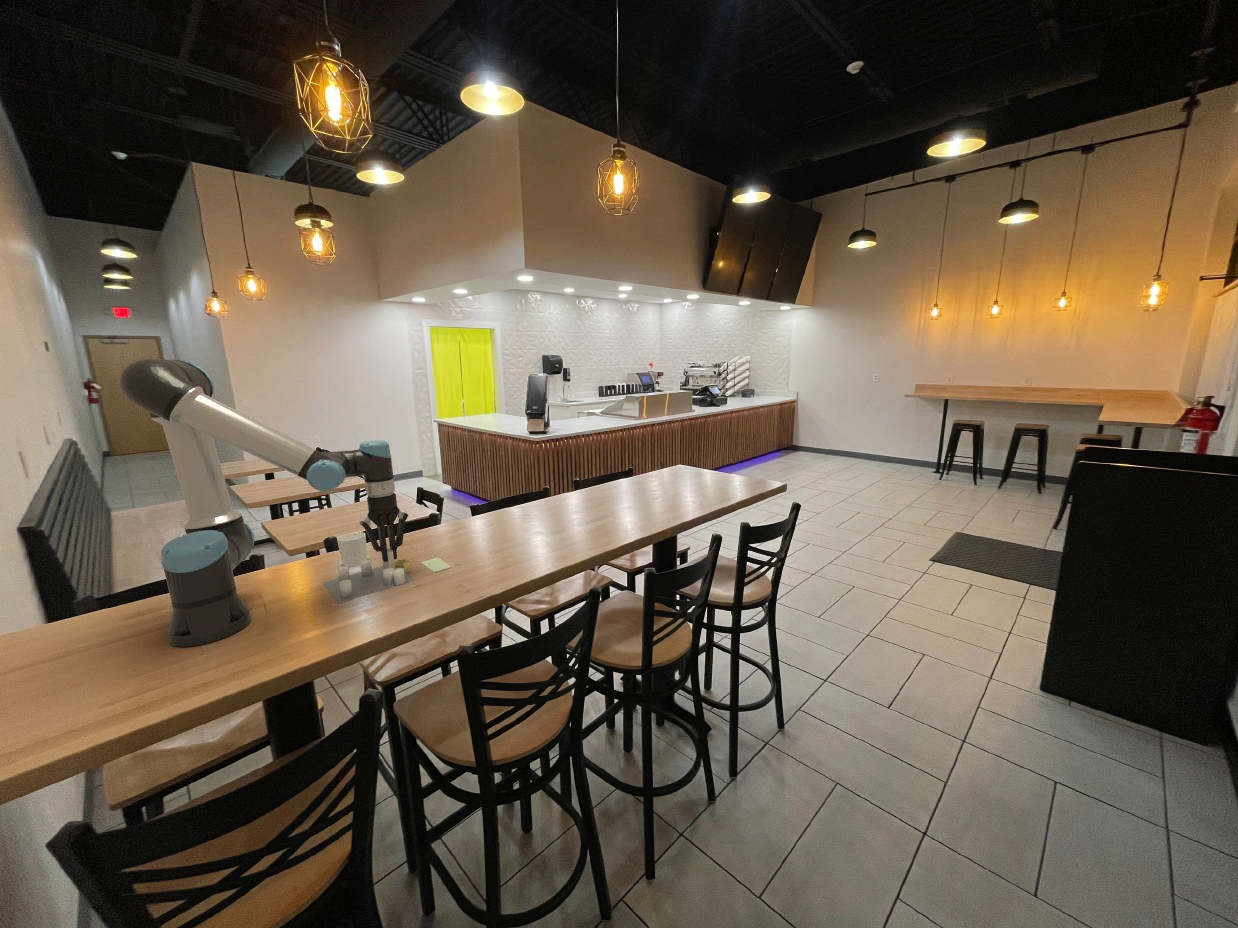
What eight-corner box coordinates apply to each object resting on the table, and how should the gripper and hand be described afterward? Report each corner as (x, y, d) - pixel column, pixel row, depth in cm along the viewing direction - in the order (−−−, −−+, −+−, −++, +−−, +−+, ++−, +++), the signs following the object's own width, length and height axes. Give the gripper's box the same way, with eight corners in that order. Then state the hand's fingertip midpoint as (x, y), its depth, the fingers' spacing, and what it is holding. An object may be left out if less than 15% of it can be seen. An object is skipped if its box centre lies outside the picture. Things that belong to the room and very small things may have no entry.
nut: (397, 575, 139) (395, 566, 139) (391, 570, 143) (390, 561, 142) (412, 571, 142) (411, 562, 142) (406, 566, 146) (405, 557, 145)
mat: (412, 579, 139) (412, 578, 139) (400, 568, 147) (399, 568, 147) (451, 567, 147) (451, 566, 147) (437, 558, 155) (437, 557, 155)
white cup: (348, 572, 146) (343, 542, 144) (337, 567, 150) (332, 537, 148) (373, 564, 152) (369, 535, 150) (362, 559, 156) (358, 530, 154)
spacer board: (338, 608, 123) (336, 589, 122) (323, 586, 136) (320, 569, 135) (416, 583, 136) (414, 567, 135) (395, 566, 150) (393, 550, 149)
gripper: (360, 501, 129) (371, 581, 133) (409, 491, 137) (418, 567, 142) (352, 496, 134) (364, 573, 139) (400, 487, 143) (409, 560, 147)
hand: (391, 570), depth 140 cm, fingers closed
